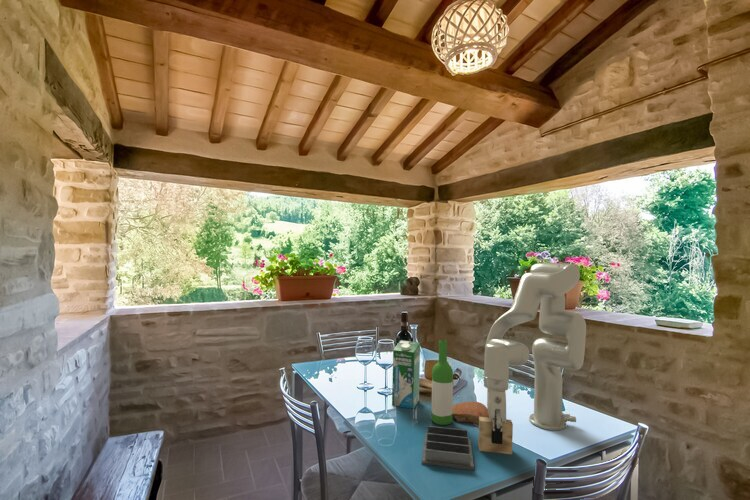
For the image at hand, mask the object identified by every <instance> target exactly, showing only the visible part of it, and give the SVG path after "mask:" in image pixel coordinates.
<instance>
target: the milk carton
mask: <svg viewBox="0 0 750 500" xmlns="http://www.w3.org/2000/svg"><path fill="white" fill-rule="evenodd" d="M420 362H421V342H420V341H419V342H418V341H410V340H402V339H400V340H399V341H398V343H397V344H396V346H395V347H394V349H393V351H392V385H391V386H392V387H391V390H392V391H391V392H392V394H391V395H392V396H391V405H392V406H395V407H401V408H405V407H406V409H411V408H412V409H411V410H413V409H414V408H415V407H416V406H417V404H418V403H419V402H418V401H420V372H421V371H420V367H421V366H420V365H421V363H420ZM417 402H418V403H417Z"/></svg>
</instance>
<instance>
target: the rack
mask: <svg viewBox="0 0 750 500" xmlns="http://www.w3.org/2000/svg"><path fill="white" fill-rule="evenodd" d="M423 439H424V440H423V448H422V449H423V450H422V455H421V464H422V465H428V466H436V467H437V466H439V467H446V468H452V469H454V468H455V469H462V470H470V471H474V470H475V464H474V463H475V462H474V456H473V449H472V442H471V438H469V436H468V429H461V428H453V427H442V426H433V425H428V426H427V432H426V433H424V438H423Z"/></svg>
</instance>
